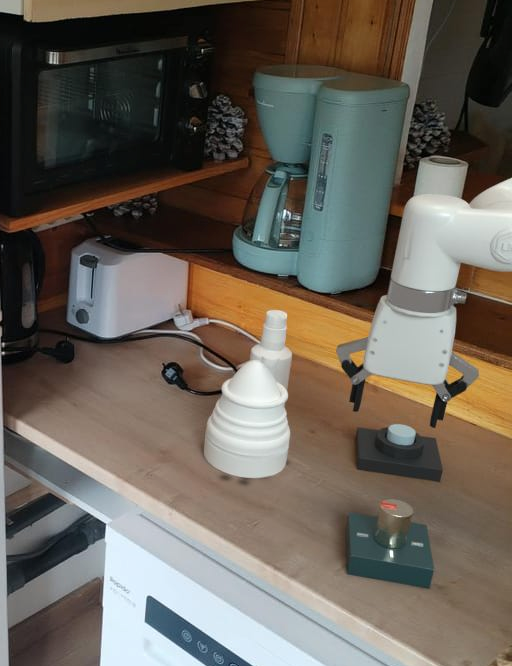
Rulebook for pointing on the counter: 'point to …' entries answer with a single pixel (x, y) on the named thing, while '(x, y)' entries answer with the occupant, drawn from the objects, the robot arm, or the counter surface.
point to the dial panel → (388, 553)
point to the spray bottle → (275, 345)
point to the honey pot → (250, 423)
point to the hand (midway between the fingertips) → (394, 415)
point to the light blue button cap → (401, 434)
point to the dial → (393, 523)
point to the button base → (397, 455)
